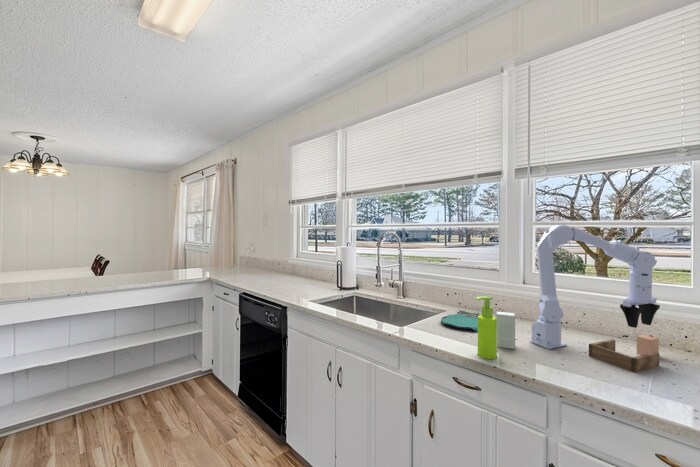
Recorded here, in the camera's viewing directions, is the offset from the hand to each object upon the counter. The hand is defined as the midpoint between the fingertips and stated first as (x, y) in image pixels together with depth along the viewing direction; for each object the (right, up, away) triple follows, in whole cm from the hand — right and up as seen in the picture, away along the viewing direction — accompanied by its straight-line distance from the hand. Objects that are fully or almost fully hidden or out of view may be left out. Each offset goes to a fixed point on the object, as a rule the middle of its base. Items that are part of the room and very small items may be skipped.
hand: (639, 325), depth 107 cm
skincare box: (-42, -10, +7) cm, 44 cm away
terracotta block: (+1, -10, -1) cm, 10 cm away
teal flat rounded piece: (-45, -10, +37) cm, 59 cm away
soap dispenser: (-53, -10, -1) cm, 54 cm away
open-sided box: (-10, -10, -5) cm, 15 cm away
